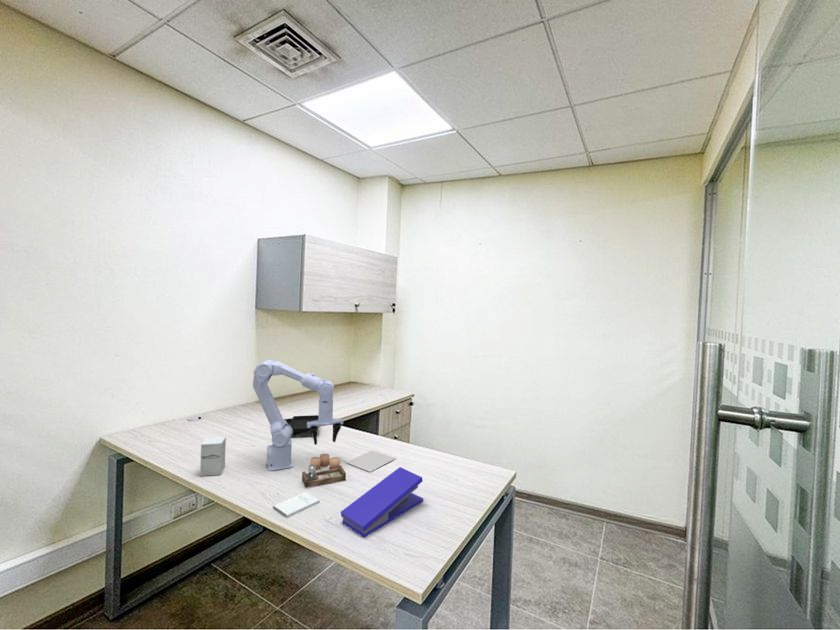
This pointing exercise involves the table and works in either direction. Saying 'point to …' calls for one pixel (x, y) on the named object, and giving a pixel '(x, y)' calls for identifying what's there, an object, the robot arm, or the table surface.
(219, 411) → the table surface
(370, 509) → the stapler
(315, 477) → the slider
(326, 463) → the peach rounded cylinder
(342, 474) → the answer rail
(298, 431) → the tray
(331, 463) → the peach domed cylinder
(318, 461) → the peach domed capsule
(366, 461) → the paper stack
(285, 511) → the external hard drive
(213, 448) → the supplement box
